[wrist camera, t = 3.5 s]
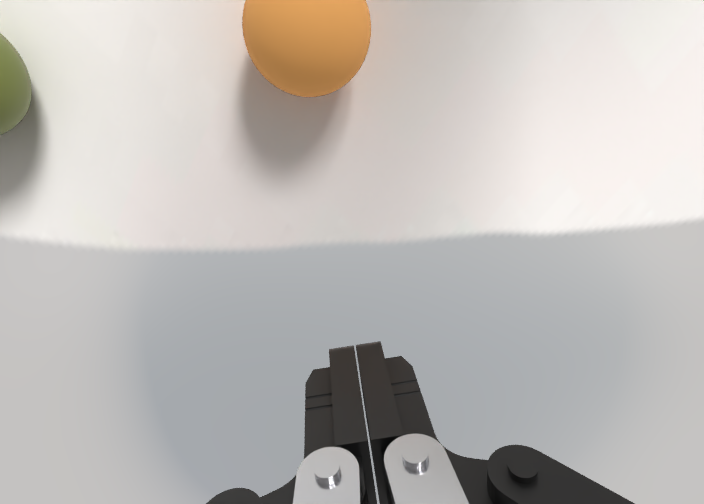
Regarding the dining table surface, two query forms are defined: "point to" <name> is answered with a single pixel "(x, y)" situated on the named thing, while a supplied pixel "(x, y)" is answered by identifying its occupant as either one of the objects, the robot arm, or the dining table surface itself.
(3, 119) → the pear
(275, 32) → the ball
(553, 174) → the dining table surface
